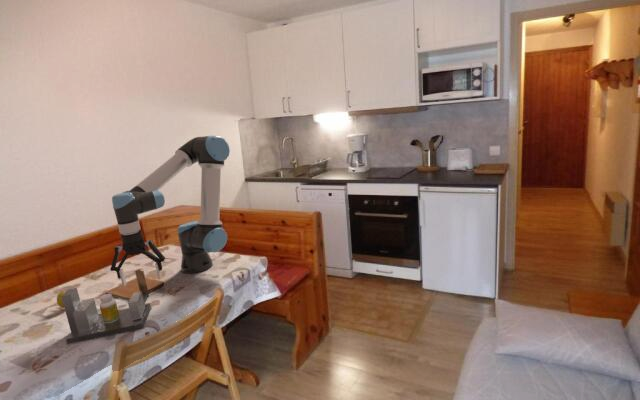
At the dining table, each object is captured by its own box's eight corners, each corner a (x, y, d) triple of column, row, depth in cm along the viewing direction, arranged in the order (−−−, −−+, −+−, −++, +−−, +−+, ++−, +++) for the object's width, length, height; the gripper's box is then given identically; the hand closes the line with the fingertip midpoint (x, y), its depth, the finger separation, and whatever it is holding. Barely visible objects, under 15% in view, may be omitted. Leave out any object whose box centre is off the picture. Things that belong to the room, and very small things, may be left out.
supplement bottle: (113, 323, 143) (107, 299, 141) (100, 323, 144) (94, 299, 142) (122, 316, 149) (117, 292, 146) (110, 316, 150) (104, 292, 147)
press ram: (150, 296, 163) (143, 268, 160) (140, 318, 144) (133, 286, 142) (142, 298, 162) (135, 269, 159) (132, 320, 144) (124, 288, 141)
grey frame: (151, 308, 157) (142, 271, 154) (143, 328, 142) (133, 287, 138) (82, 322, 152) (72, 283, 148) (67, 344, 137) (55, 302, 133)
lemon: (77, 305, 167) (73, 288, 166) (65, 312, 162) (61, 294, 161) (68, 304, 169) (63, 287, 168) (56, 311, 164) (51, 293, 162)
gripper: (165, 223, 161) (175, 271, 165) (99, 235, 156) (112, 284, 160) (162, 228, 153) (173, 278, 158) (93, 240, 148) (106, 292, 153)
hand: (142, 281), depth 159 cm, fingers open, 13 cm apart
